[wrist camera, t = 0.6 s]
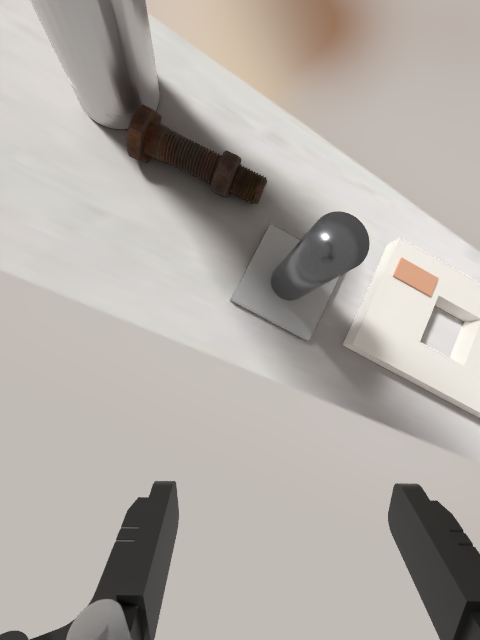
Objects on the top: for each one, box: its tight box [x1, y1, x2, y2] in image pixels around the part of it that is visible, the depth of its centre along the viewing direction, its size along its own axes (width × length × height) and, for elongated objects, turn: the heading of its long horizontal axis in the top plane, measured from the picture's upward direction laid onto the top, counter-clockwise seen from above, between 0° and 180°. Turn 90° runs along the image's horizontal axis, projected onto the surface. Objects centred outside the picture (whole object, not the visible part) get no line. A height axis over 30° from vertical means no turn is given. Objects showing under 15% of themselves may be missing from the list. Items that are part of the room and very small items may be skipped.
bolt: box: [126, 104, 267, 204], centre depth 34 cm, size 6×5×15 cm
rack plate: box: [343, 238, 480, 418], centre depth 37 cm, size 20×14×3 cm
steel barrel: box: [271, 212, 369, 300], centre depth 29 cm, size 4×4×13 cm
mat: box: [230, 224, 340, 341], centre depth 36 cm, size 10×10×1 cm
